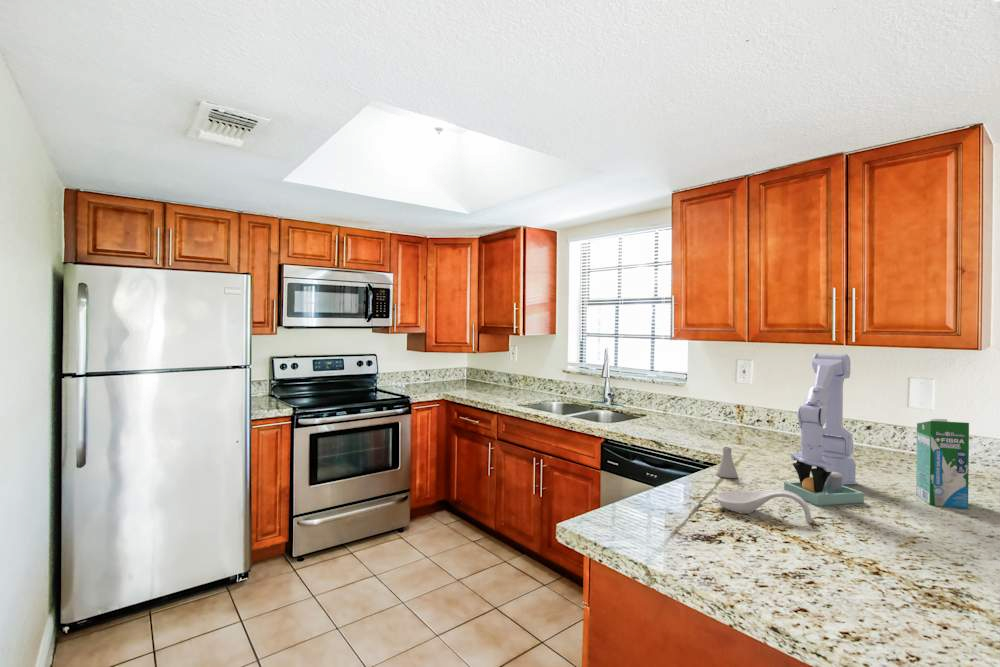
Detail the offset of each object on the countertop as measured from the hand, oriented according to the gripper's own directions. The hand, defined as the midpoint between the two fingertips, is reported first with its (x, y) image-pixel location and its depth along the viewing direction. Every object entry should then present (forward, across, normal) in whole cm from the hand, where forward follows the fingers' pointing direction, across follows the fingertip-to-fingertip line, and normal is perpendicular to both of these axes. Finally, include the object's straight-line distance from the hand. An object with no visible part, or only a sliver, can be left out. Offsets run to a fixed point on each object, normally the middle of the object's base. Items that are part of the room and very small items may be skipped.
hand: (811, 489), depth 153 cm
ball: (-1, 0, 0) cm, 1 cm away
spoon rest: (+3, +9, -24) cm, 26 cm away
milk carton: (+3, +10, +36) cm, 37 cm away
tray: (+3, 0, +4) cm, 5 cm away
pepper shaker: (+2, 0, +8) cm, 8 cm away
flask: (+3, -26, -11) cm, 28 cm away
